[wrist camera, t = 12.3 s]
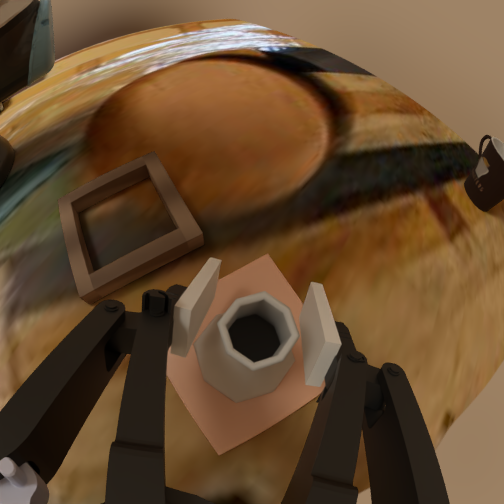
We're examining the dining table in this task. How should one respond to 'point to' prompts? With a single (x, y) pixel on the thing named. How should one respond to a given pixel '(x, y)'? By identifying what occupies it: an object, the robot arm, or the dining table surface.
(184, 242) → the walnut holder
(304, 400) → the terracotta coaster
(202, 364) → the flask
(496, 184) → the coffee mug
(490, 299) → the dining table surface
